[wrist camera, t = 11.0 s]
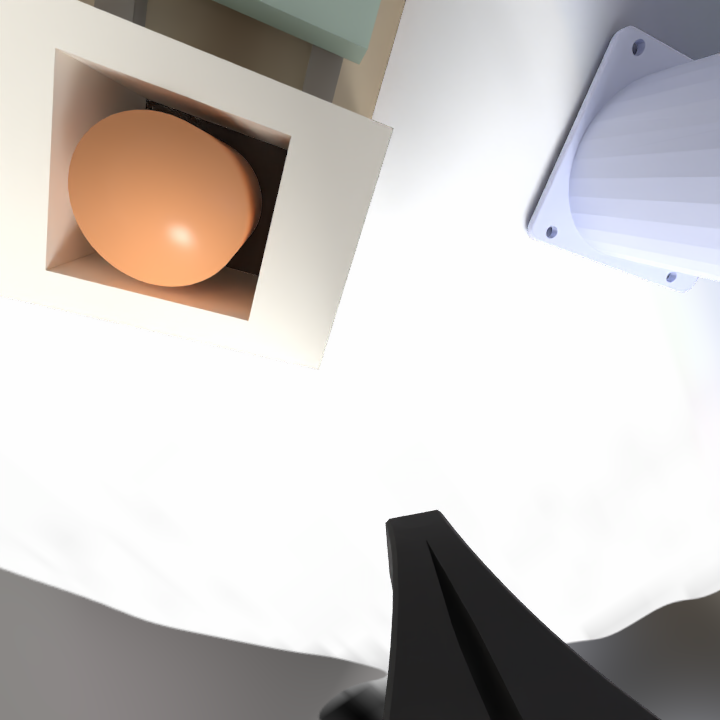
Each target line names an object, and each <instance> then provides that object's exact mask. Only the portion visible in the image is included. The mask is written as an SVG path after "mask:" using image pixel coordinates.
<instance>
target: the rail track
mask: <svg viewBox="0 0 720 720" xmlns="http://www.w3.org/2000/svg"><path fill="white" fill-rule="evenodd" d="M78 1H80V2H83V3H85V4H88V5H90V6H93V7H95V8H98V9H100V10H103V11H105V12H108V13H110V14H113V15H115V16H117V17H120V18H122V19H125V20H127V21H130V22H132V23H135V24H137V25H140V26H142V27H145V28H147V29H150V30H152V31H155V32H157V33H159V34H162V35H164V36H167V37H169V38H172V39H174V40H177V41H179V42H182V43H184V44H187V45H189V46H192V47H194V48H196V49H199V50H201V51H204V52H206V53H209V54H211V55H214V56H216V57H219V58H221V59H224V60H226V61H229V62H231V63H234V64H236V65H238V66H241V67H243V68H246V69H248V70H251V71H253V72H256V73H258V74H261V75H263V76H266V77H268V78H271V79H273V80H276V81H278V82H280V83H283V84H285V85H288V86H290V87H293V88H295V89H298V90H300V91H303V92H305V93H308V94H310V95H313V96H315V97H318V98H320V99H322V100H325V101H327V102H330V103H332V104H335V105H337V106H340V107H342V108H345V109H347V110H350V111H352V112H355V113H357V114H359V115H362V116H364V117H367V118H369V119H372V115H373V112H374V108H375V105H376V101H377V98H378V95H379V91H380V88H381V84H382V81H383V77H384V74H385V70H386V67H387V64H388V60H389V57H390V53H391V50H392V46H393V43H394V39H395V36H396V33H397V29H398V26H399V22H400V19H401V15H402V12H403V8H404V5H405V1H406V0H381V2H380V6H379V9H378V13H377V17H376V20H375V24H374V28H373V31H372V35H371V39H370V42H369V46H368V50H367V51H366V53H365V55H364V57H363V59H362V60H361V62H360V64H357V63H354V62H352V61H350V60H347V59H345V58H343V57H341V56H338V55H336V54H334V53H331V52H329V51H327V50H325V49H322V48H320V47H318V46H315V45H313V44H311V43H309V42H306V41H304V40H302V39H299V38H297V37H295V36H293V35H290V34H288V33H286V32H283V31H281V30H279V29H277V28H274V27H272V26H270V25H267V24H265V23H263V22H261V21H258V20H256V19H254V18H251V17H249V16H247V15H245V14H242V13H240V12H238V11H235V10H233V9H231V8H229V7H226V6H224V5H222V4H219V3H217V2H215V1H213V0H78Z"/></svg>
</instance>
